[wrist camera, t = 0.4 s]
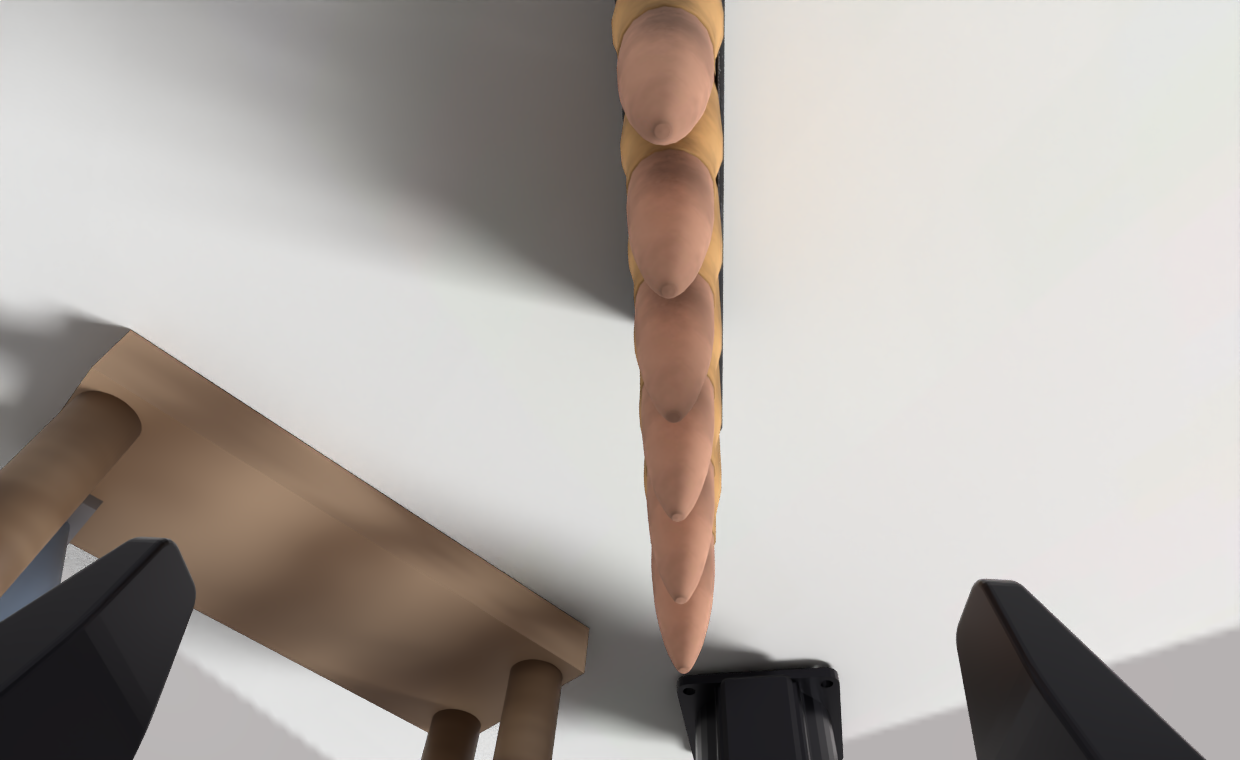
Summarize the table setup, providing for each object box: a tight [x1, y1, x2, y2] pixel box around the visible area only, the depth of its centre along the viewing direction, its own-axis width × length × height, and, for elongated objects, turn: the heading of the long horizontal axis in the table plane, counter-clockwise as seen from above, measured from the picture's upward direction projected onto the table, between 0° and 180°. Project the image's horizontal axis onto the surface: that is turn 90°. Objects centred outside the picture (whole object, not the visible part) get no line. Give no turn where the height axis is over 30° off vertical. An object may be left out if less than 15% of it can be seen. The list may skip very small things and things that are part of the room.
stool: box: [0, 330, 589, 760], centre depth 26 cm, size 20×8×10 cm, turn 46°
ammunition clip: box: [612, 0, 725, 674], centre depth 15 cm, size 11×2×12 cm, turn 4°
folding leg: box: [0, 521, 70, 622], centre depth 23 cm, size 2×2×8 cm
